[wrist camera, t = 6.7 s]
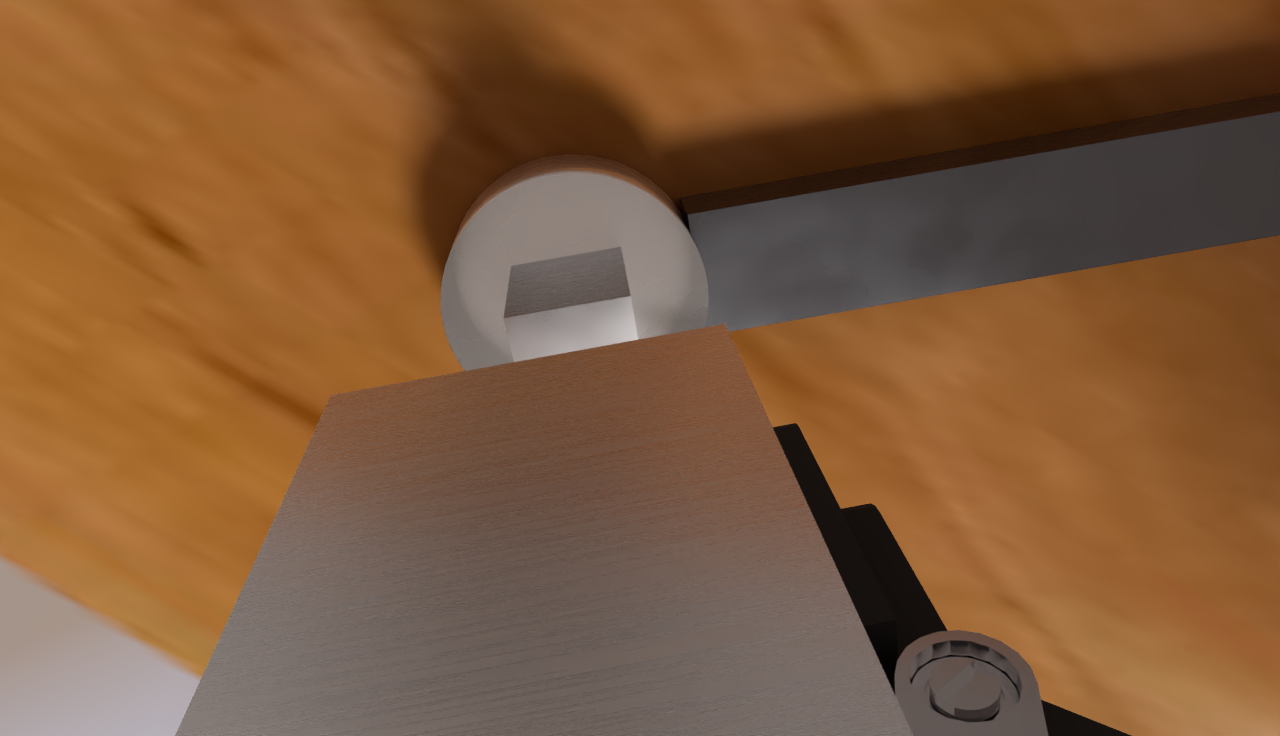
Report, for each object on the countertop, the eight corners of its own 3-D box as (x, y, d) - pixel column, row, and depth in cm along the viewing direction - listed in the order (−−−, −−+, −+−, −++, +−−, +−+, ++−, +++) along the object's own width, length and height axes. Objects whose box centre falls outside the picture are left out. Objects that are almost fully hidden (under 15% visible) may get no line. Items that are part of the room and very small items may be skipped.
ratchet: (1308, 23, 22) (1520, 47, 17) (1267, 265, 25) (1439, 344, 20) (422, 177, 22) (383, 245, 17) (482, 402, 25) (463, 516, 20)
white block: (725, 322, 12) (918, 747, 6) (762, 623, 15) (926, 1148, 8) (330, 395, 12) (97, 903, 6) (434, 684, 14) (349, 1262, 8)
